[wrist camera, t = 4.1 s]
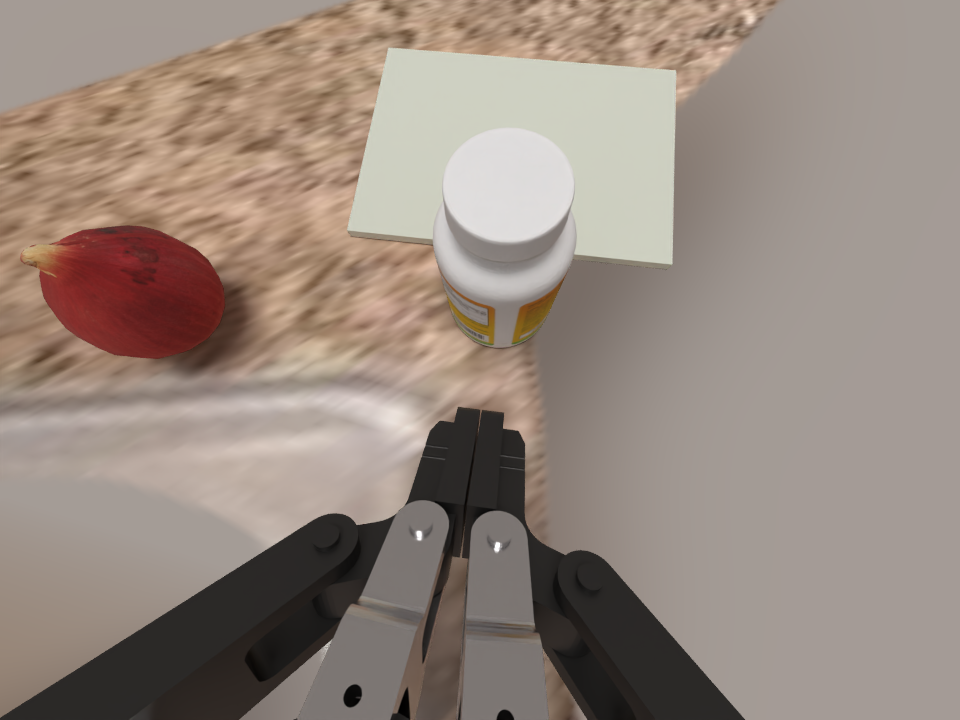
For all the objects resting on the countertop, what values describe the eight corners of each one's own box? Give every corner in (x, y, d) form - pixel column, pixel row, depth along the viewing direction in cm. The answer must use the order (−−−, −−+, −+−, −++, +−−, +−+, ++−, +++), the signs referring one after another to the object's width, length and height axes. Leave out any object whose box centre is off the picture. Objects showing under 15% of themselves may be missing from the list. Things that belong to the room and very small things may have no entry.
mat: (350, 236, 21) (346, 230, 21) (391, 57, 24) (388, 47, 24) (667, 269, 21) (672, 264, 20) (671, 79, 23) (676, 70, 23)
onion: (194, 256, 21) (26, 150, 14) (277, 297, 21) (151, 210, 13) (133, 344, 20) (-88, 283, 13) (218, 389, 20) (41, 355, 12)
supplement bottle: (545, 255, 21) (592, 101, 11) (551, 348, 20) (610, 261, 10) (450, 259, 21) (418, 109, 12) (450, 351, 20) (416, 268, 10)
